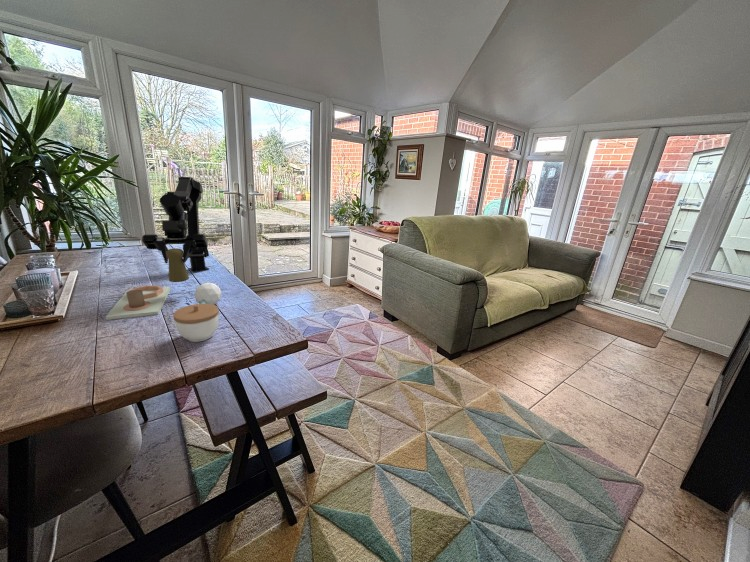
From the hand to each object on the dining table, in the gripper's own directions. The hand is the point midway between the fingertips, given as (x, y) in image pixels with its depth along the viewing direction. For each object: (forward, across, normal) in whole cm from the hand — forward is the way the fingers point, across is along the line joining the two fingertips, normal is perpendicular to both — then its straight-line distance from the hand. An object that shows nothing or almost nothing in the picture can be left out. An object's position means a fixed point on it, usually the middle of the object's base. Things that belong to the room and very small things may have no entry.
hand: (175, 262), depth 103 cm
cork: (+4, 0, +6) cm, 7 cm away
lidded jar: (+31, +11, -12) cm, 35 cm away
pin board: (+11, -11, +8) cm, 17 cm away
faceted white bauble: (+16, +10, +2) cm, 19 cm away
